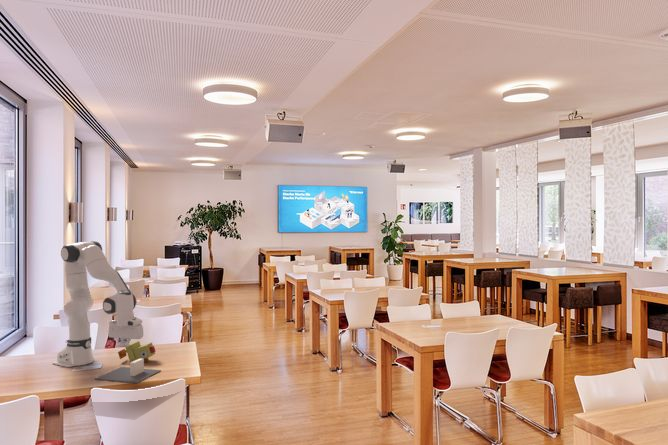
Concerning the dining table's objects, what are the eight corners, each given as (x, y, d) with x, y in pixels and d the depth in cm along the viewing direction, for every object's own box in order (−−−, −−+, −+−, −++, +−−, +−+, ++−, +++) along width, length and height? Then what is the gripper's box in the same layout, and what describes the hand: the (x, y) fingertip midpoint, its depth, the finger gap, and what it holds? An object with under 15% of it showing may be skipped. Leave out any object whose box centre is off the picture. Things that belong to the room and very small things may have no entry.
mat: (94, 379, 256) (94, 378, 256) (121, 367, 275) (121, 366, 275) (136, 383, 249) (136, 382, 249) (160, 371, 268) (160, 370, 268)
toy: (121, 369, 283) (153, 360, 281) (115, 349, 283) (146, 340, 281) (129, 364, 293) (160, 355, 291) (123, 345, 293) (154, 336, 291)
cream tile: (130, 375, 259) (130, 362, 259) (140, 371, 267) (139, 358, 267) (134, 376, 258) (133, 363, 258) (144, 371, 266) (143, 358, 266)
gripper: (105, 321, 264) (105, 346, 264) (137, 323, 258) (137, 348, 258) (113, 318, 270) (114, 343, 270) (144, 320, 264) (145, 345, 264)
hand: (125, 346), depth 264 cm, fingers closed
